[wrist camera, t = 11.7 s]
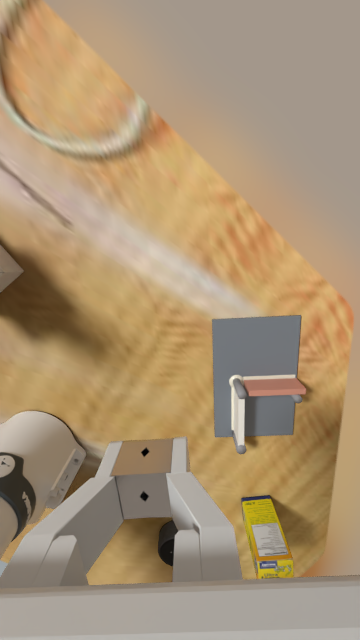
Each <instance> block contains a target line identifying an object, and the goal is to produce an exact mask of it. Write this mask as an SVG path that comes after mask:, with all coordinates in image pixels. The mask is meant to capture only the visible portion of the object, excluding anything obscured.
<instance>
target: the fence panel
mask: <svg viewBox="0 0 360 640" xmlns="http://www.w3.org/2000/svg"><path fill="white" fill-rule="evenodd" d="M244 387H245V389H246V391H247V393H248V395H249V396H271V395H300V394H306V388H305V387H304V386H303V385H302V384H301V383H300V382H299V381H298V379H297V378H286V379H259V380H244Z"/></svg>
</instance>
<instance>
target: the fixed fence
mask: <svg viewBox="0 0 360 640" xmlns="http://www.w3.org/2000/svg"><path fill="white" fill-rule="evenodd" d="M233 385H234V430H233V431H232V435H233V439H234V442H235V446H236V450H237V452H238V453H239V454H244V453H245V452H246V447H245V444H244V413H245V398H246V397H247V394H246V392H245V390H244V387H243V385H242V383H241V381H240V379H238V378H235V379H234V380H233ZM290 396H291V397H292V398H293V400H294V401H295V402H296V403H301V402H302V397H301V396H300V395H290Z"/></svg>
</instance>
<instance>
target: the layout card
mask: <svg viewBox="0 0 360 640" xmlns="http://www.w3.org/2000/svg"><path fill="white" fill-rule="evenodd" d="M300 323H301V315H293V316H272V317H251V318H231V319H212V331H213V375H214V420H215V437H233V435H232V431H233V430H234V385H233V380H234V379H235V378H238V379H240V381H241V383H242V385H243V387H244V380H259V379H286V378H297V365H298V351H299V337H300ZM244 390H245V392H246V394H247V397H246V398H245V413H244V436H270V435H293V422H294V408H295V401H294V400H293V398H292V397H291V396H290V395H271V396H249V395H248V393H247V391H246V389H245V387H244Z"/></svg>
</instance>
